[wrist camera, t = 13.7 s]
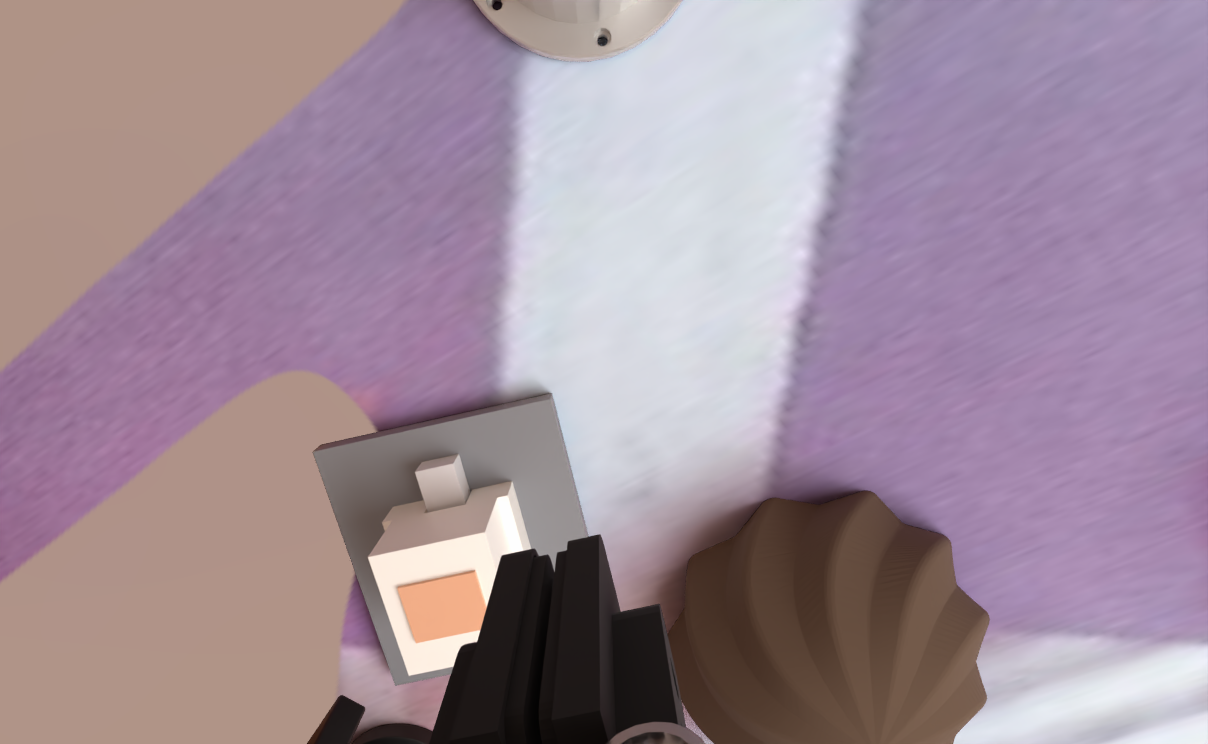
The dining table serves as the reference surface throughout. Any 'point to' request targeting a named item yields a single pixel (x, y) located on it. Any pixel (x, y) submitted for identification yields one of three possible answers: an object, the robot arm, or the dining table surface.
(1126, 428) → the dining table surface
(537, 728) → the robot arm
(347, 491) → the rail board
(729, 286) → the dining table surface
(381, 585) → the block
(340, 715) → the light fixture
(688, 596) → the decorative dome
